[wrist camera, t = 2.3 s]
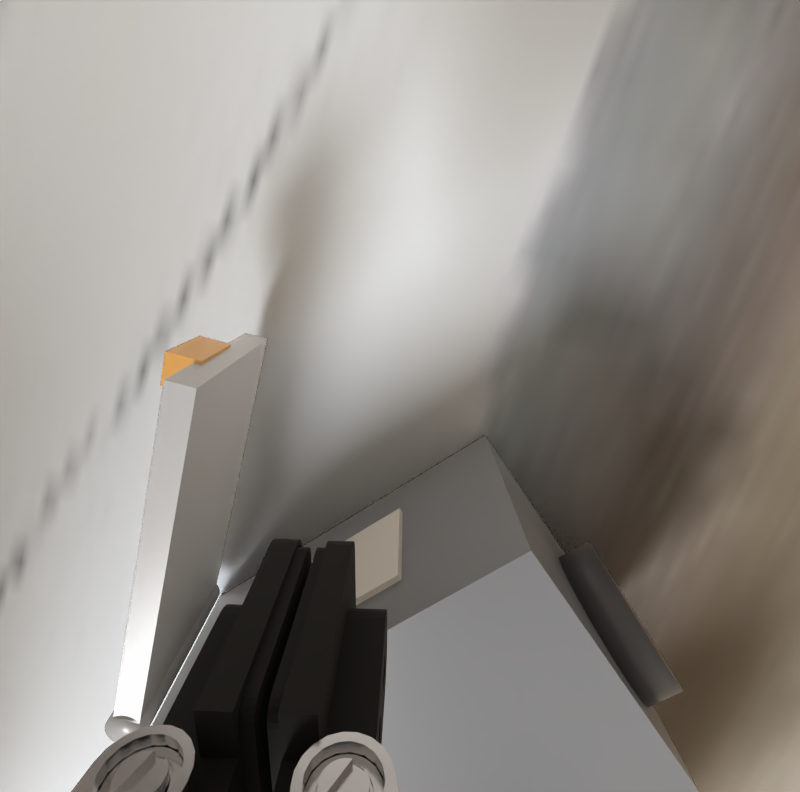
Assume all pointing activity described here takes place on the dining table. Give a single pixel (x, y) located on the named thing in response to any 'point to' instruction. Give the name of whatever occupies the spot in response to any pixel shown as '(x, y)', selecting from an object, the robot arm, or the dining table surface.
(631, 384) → the dining table surface
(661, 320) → the dining table surface
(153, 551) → the side door
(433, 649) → the grey device box
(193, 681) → the robot arm
